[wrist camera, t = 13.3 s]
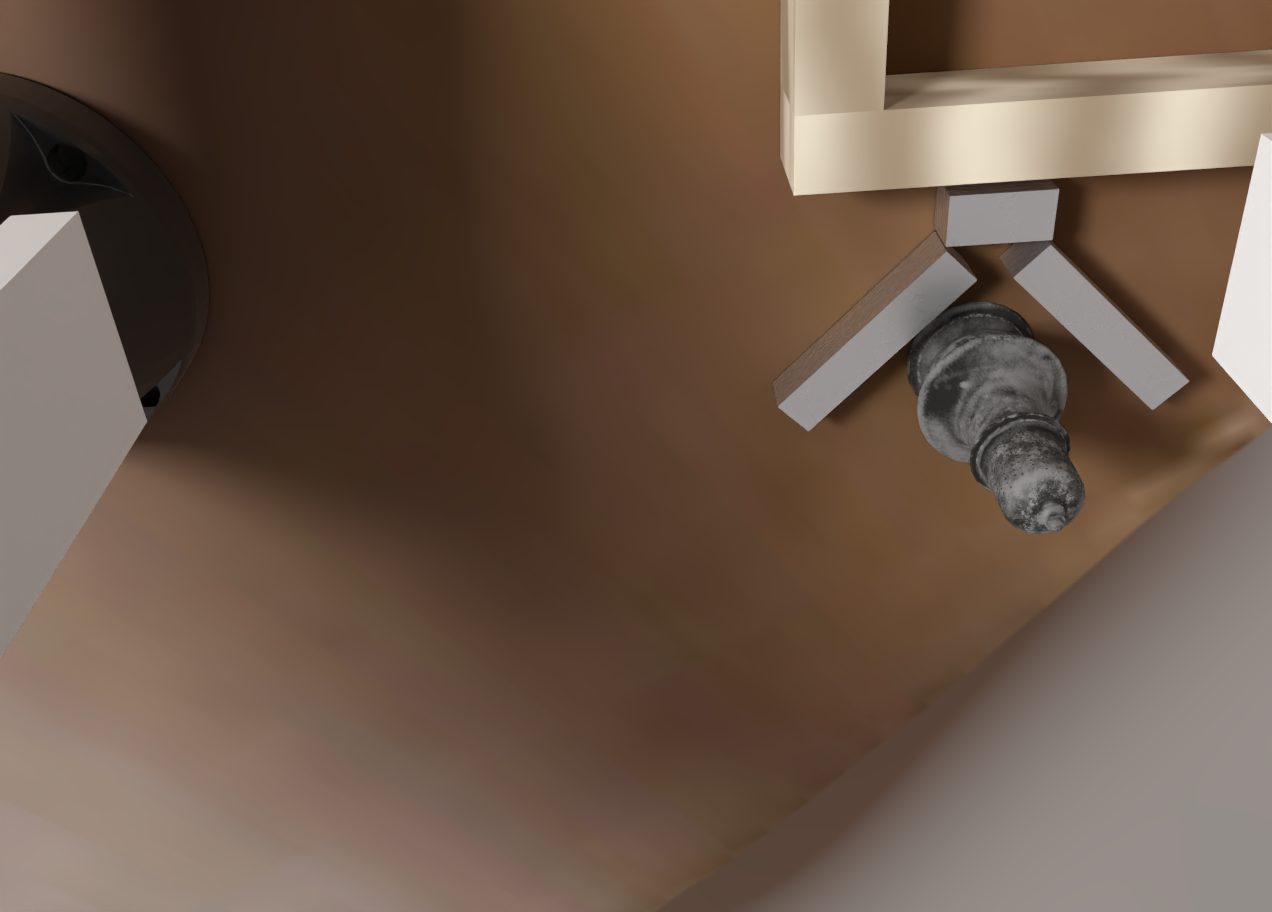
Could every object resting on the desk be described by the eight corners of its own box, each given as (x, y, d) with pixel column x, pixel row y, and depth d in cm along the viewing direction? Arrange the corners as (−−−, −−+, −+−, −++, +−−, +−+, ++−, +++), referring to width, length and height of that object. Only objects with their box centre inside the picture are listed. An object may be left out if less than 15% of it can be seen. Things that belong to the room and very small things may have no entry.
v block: (772, 188, 46) (777, 207, 45) (1210, 159, 46) (1232, 178, 44) (772, 408, 52) (777, 433, 50) (1165, 384, 51) (1183, 408, 50)
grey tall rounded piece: (1055, 390, 52) (1162, 565, 42) (921, 437, 53) (994, 618, 43) (1022, 273, 49) (1130, 431, 39) (881, 326, 50) (950, 493, 40)
